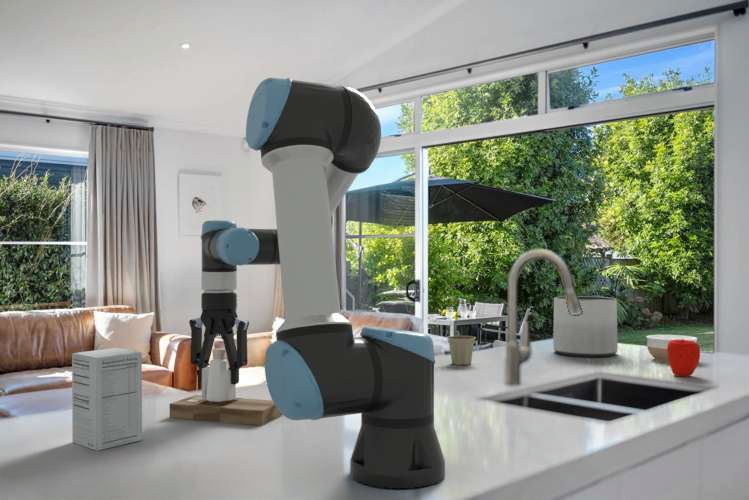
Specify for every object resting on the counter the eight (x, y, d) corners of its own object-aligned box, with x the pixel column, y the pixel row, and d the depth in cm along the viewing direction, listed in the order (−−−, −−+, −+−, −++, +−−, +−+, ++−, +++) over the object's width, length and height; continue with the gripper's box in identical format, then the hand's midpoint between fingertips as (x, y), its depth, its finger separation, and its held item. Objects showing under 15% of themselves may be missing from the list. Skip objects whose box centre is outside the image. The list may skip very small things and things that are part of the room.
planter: (576, 348, 265) (576, 295, 265) (629, 354, 248) (629, 298, 248) (540, 353, 251) (540, 297, 251) (595, 360, 234) (595, 300, 234)
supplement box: (117, 432, 136) (118, 347, 136) (143, 440, 130) (144, 351, 131) (70, 442, 129) (70, 352, 129) (95, 451, 123) (96, 356, 123)
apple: (706, 377, 200) (706, 339, 200) (683, 379, 197) (683, 341, 197) (682, 372, 208) (682, 336, 208) (660, 374, 205) (660, 337, 205)
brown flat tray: (262, 425, 142) (262, 409, 142) (169, 417, 149) (169, 402, 149) (282, 414, 152) (282, 400, 152) (195, 408, 158) (195, 394, 158)
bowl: (635, 358, 238) (635, 335, 238) (674, 356, 243) (674, 333, 243) (668, 365, 223) (668, 340, 223) (708, 363, 228) (708, 338, 228)
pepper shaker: (206, 402, 147) (206, 350, 148) (205, 397, 153) (205, 347, 153) (232, 401, 149) (232, 349, 149) (230, 396, 154) (230, 346, 154)
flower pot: (444, 365, 221) (444, 338, 221) (449, 361, 230) (449, 335, 230) (473, 366, 219) (473, 339, 219) (477, 362, 228) (477, 336, 228)
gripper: (264, 291, 152) (264, 397, 152) (192, 290, 157) (191, 392, 157) (248, 293, 145) (248, 404, 144) (172, 291, 150) (172, 398, 150)
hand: (218, 397), depth 151 cm, fingers closed on pepper shaker, 5 cm apart
